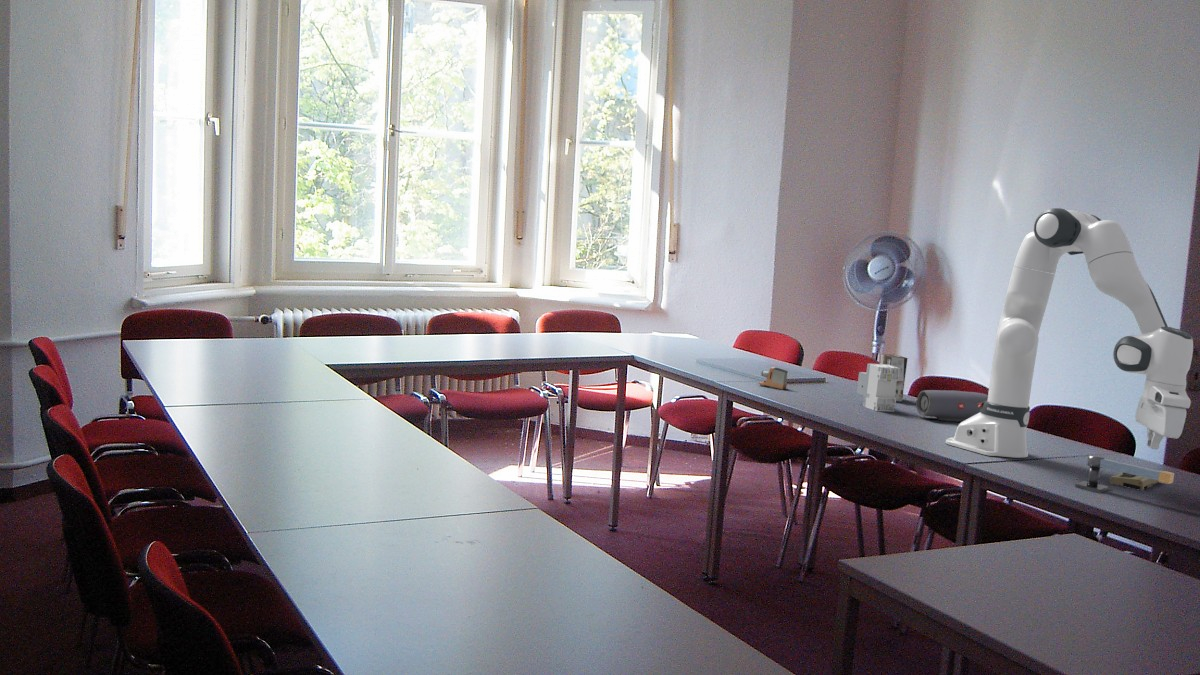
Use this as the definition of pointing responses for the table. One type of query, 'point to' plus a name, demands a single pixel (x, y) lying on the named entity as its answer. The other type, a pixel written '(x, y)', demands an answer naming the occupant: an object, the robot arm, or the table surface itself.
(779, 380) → the electronic device
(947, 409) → the bluetooth speaker
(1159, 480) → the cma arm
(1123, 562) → the table surface
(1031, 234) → the robot arm
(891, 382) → the circuit breaker
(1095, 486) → the post
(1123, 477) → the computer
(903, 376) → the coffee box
